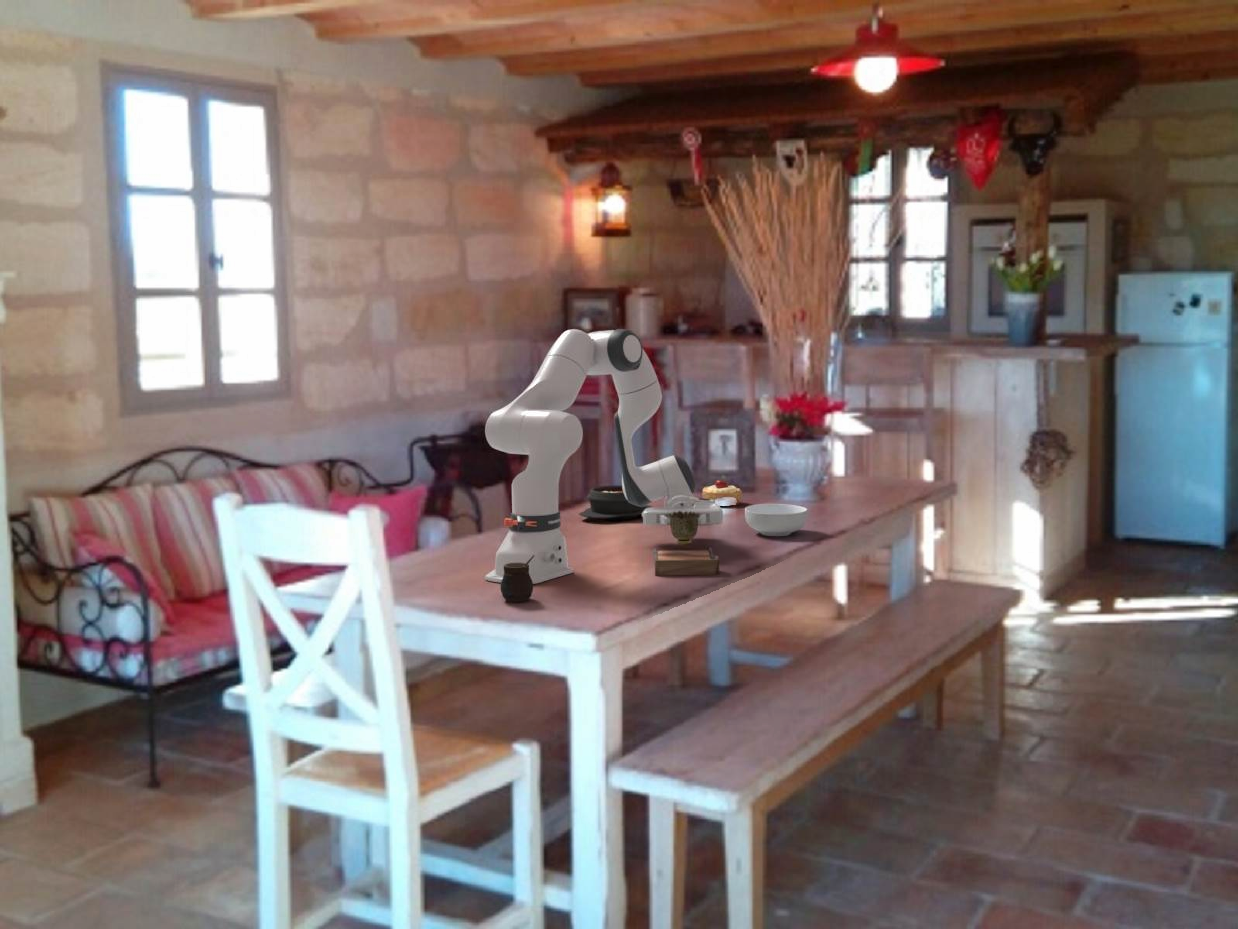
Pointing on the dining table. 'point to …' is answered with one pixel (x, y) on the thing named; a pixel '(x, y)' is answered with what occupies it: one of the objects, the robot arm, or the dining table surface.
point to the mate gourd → (517, 582)
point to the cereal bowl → (775, 518)
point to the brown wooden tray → (686, 562)
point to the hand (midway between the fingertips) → (683, 521)
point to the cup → (684, 527)
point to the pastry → (721, 491)
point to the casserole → (611, 504)
